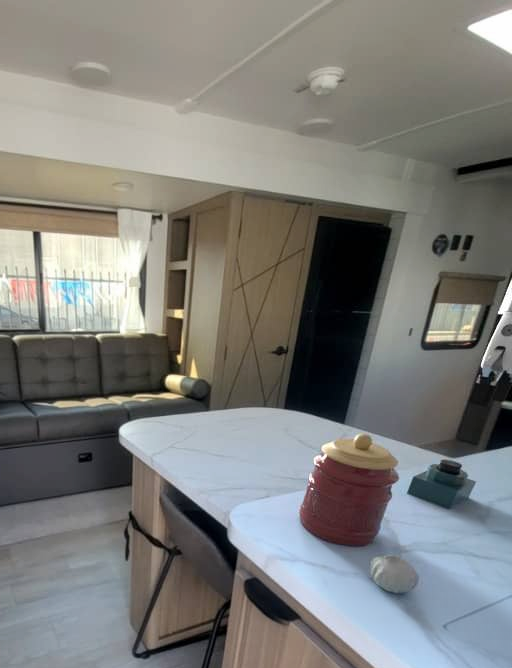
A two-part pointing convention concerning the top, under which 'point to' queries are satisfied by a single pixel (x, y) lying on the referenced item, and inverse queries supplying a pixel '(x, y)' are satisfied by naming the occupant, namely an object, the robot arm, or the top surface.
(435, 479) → the green push button box
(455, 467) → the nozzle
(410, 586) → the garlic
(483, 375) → the robot arm
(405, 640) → the top surface
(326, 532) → the kitchen canister
